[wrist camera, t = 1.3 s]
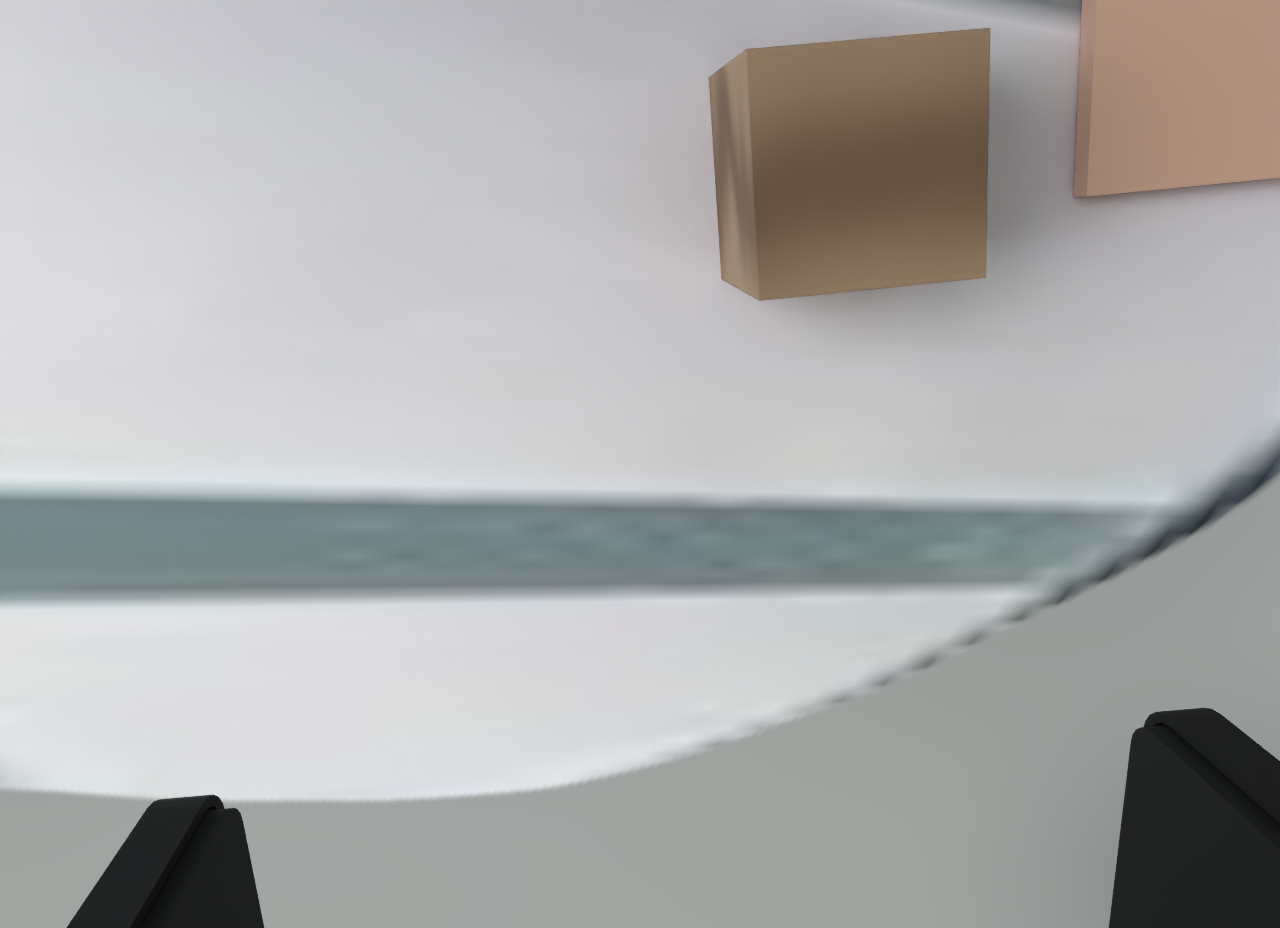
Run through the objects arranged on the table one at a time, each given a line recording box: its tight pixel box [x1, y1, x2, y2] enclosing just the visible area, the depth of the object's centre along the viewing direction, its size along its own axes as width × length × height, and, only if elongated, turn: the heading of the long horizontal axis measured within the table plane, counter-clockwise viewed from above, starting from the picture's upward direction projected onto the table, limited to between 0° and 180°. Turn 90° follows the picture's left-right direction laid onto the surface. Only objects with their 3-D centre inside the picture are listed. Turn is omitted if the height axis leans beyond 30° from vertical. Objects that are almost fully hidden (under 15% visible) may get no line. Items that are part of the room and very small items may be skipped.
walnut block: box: [709, 28, 990, 301], centre depth 26 cm, size 6×6×6 cm
